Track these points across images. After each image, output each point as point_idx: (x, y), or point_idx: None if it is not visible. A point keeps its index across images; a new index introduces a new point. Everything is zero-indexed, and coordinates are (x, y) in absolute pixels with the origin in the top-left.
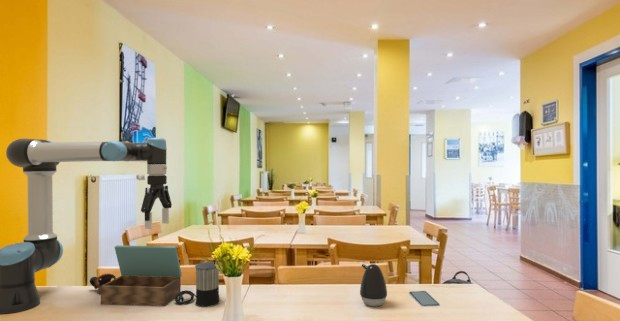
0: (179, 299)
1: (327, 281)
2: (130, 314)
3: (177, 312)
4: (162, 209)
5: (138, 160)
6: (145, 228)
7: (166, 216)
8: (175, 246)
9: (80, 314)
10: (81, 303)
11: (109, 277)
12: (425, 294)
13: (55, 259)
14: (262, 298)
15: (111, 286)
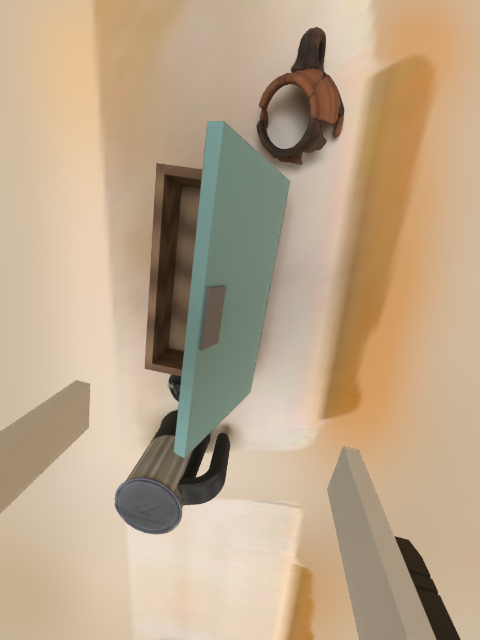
0: (175, 383)
1: (302, 632)
2: (116, 290)
3: (132, 383)
4: (396, 618)
5: None
6: (73, 386)
7: (347, 544)
8: (183, 455)
9: (109, 161)
10: (186, 109)
11: (333, 107)
12: None
13: None
14: (207, 522)
15: (154, 205)
